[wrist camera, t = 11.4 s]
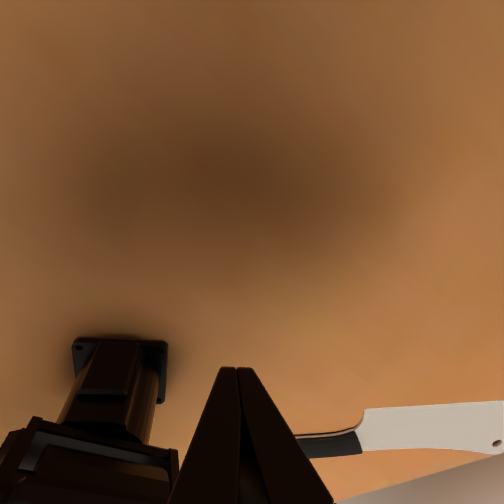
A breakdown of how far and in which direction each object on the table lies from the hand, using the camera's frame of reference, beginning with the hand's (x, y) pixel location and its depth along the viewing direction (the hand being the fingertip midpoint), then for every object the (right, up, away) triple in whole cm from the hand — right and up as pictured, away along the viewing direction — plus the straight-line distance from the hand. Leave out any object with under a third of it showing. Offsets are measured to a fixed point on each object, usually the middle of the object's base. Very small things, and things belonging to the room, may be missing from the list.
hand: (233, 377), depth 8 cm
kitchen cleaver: (+14, -14, +24) cm, 31 cm away
